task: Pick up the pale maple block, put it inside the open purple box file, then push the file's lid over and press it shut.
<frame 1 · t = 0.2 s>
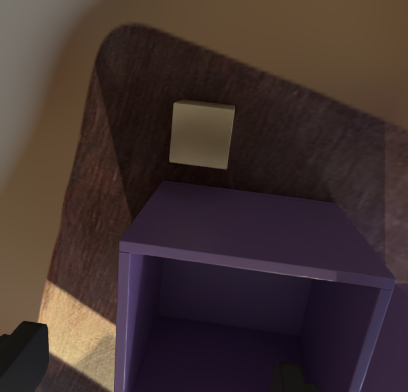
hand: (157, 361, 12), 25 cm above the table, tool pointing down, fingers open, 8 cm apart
box file: (237, 263, 39), on the table
block: (205, 128, 34), on the table
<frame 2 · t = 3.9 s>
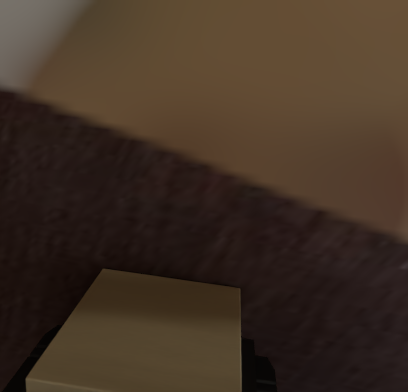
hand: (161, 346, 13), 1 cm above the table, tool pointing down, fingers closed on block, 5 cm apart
block: (165, 334, 14), on the table, touching gripper
when the fingers open (1 cm above the table, at t = 13.3 s): block stays where it is, resting on box file.
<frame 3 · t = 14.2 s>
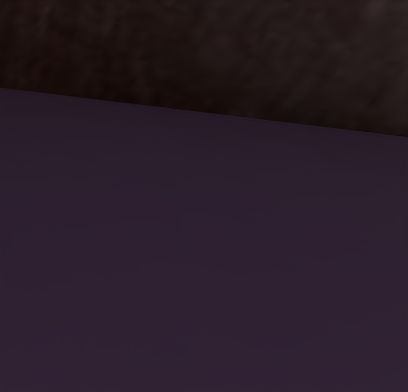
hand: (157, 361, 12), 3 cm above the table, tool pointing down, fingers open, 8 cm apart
box file: (172, 308, 15), on the table
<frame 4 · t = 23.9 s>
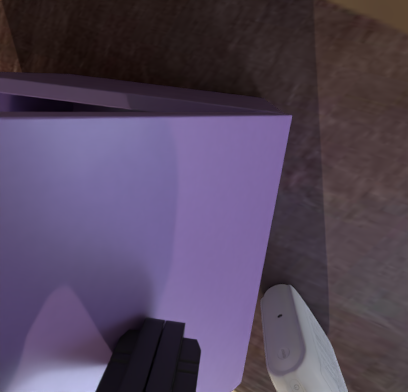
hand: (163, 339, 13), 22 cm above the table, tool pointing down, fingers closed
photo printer: (295, 319, 38), on the table
box file: (158, 175, 34), on the table
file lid: (122, 341, 13), point 22 cm above the table, hinge at 53.9°, touching gripper
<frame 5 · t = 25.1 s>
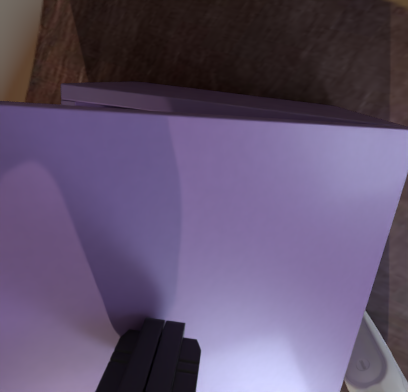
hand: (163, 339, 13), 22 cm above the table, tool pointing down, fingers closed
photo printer: (353, 327, 38), on the table
box file: (221, 183, 34), on the table
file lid: (224, 311, 15), point 20 cm above the table, hinge at 31.9°, touching gripper
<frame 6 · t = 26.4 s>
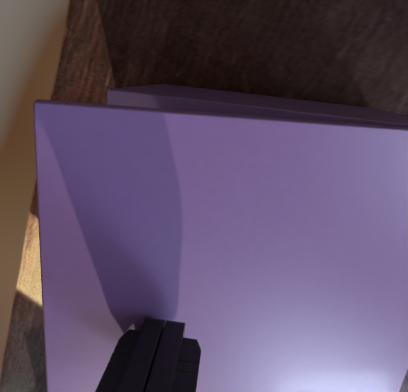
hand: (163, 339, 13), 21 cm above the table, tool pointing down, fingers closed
box file: (251, 187, 33), on the table
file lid: (274, 312, 16), point 18 cm above the table, hinge at 23.4°, touching gripper
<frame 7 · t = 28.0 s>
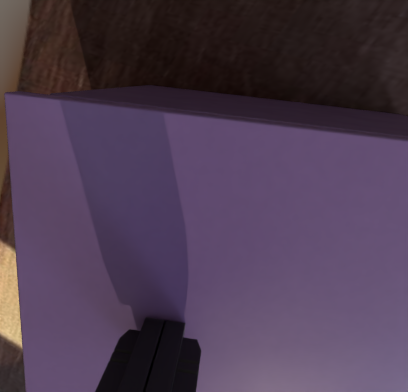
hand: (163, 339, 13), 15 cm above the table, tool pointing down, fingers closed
box file: (253, 208, 28), on the table
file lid: (260, 343, 14), point 15 cm above the table, hinge at 1.2°, touching gripper
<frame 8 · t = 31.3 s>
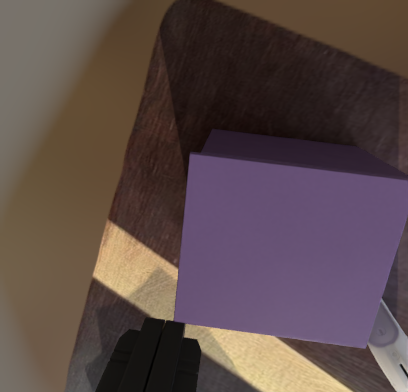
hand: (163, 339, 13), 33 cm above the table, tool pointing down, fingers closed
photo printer: (370, 310, 50), on the table
box file: (272, 201, 46), on the table
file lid: (283, 256, 32), point 15 cm above the table, hinge at 1.1°
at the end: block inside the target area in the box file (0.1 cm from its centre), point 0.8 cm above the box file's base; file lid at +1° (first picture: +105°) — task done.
